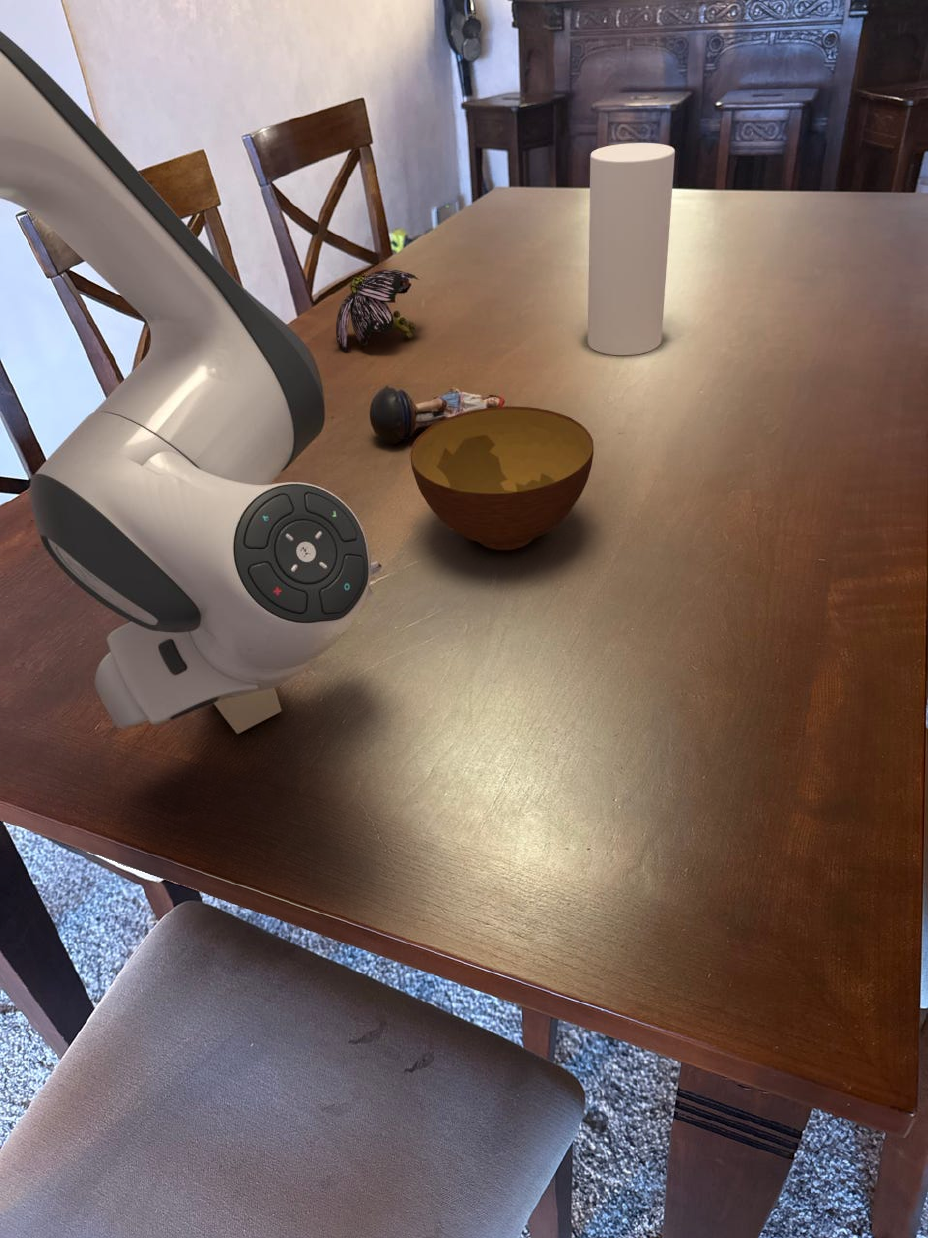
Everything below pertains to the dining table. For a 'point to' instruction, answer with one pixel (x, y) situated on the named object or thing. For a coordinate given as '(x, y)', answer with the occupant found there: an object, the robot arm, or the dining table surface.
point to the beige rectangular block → (249, 709)
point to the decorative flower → (373, 306)
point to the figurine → (420, 411)
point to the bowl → (503, 472)
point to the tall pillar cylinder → (628, 246)
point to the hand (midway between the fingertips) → (228, 658)
